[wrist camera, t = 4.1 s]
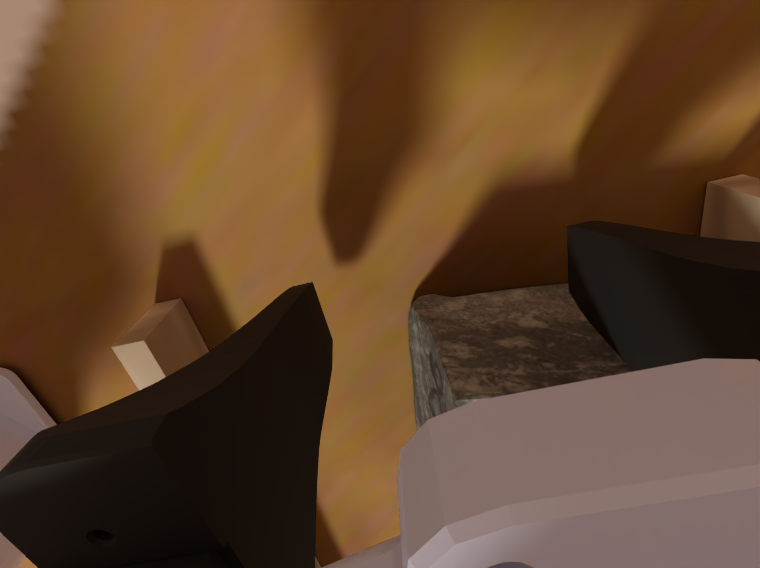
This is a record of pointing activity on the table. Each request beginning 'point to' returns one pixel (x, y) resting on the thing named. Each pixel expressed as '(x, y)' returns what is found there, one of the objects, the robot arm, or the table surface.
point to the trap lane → (184, 345)
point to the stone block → (501, 346)
